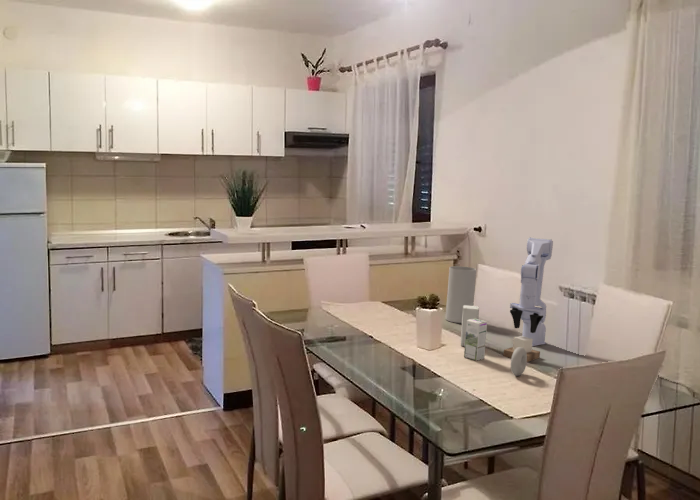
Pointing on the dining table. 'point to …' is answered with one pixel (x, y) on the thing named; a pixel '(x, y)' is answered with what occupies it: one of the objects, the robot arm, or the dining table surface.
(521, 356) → the donut
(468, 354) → the syrup box
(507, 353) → the slab
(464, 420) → the dining table surface
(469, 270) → the cylinder vase
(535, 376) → the dining table surface
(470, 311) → the skincare box
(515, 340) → the cube
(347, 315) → the dining table surface
